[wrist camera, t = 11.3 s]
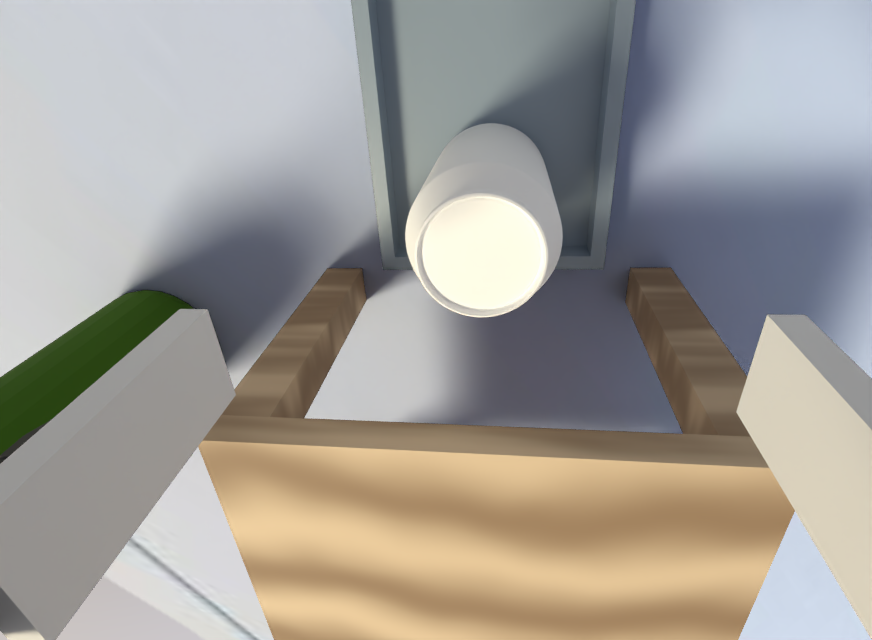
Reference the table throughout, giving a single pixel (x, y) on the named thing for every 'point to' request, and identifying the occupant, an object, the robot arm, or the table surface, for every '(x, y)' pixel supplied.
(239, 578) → the table surface
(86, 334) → the wine bottle
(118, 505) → the robot arm
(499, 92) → the tray
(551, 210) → the beverage can
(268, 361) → the small wooden table
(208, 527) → the table surface
